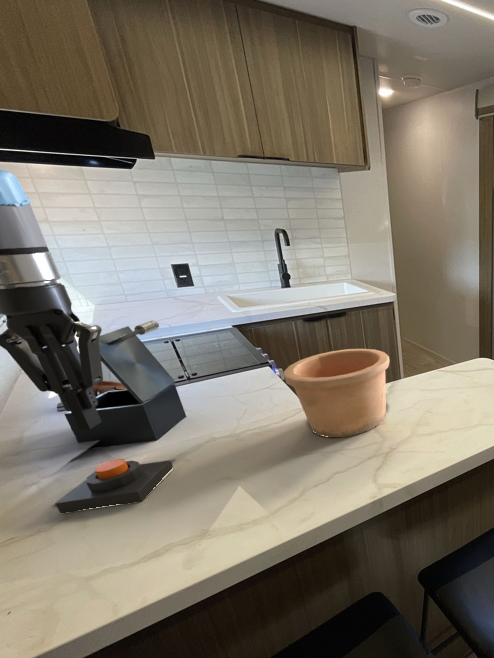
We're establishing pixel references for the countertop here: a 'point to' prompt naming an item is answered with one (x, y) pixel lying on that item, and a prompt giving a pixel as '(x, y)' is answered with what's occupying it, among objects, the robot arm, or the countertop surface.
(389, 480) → the countertop surface
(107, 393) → the dark grey box
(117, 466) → the button
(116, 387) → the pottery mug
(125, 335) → the lid
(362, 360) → the pottery
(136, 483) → the panel
